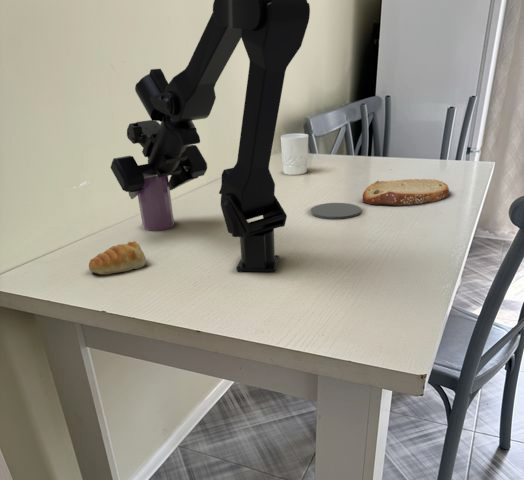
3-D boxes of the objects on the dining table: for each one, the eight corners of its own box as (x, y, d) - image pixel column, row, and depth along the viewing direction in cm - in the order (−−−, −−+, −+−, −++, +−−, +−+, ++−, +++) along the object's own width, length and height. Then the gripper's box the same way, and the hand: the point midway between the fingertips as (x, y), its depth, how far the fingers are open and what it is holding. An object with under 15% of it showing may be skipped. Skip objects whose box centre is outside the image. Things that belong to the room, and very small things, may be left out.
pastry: (99, 280, 84) (94, 258, 82) (84, 270, 89) (78, 249, 87) (150, 265, 89) (146, 244, 87) (132, 256, 94) (129, 236, 92)
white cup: (276, 172, 150) (275, 135, 145) (300, 168, 152) (300, 132, 147) (289, 176, 144) (288, 138, 138) (313, 173, 146) (313, 135, 141)
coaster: (361, 219, 107) (361, 216, 106) (308, 219, 108) (308, 216, 108) (360, 204, 116) (360, 202, 116) (312, 205, 118) (312, 202, 117)
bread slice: (451, 190, 123) (454, 174, 121) (438, 210, 109) (440, 193, 108) (378, 185, 130) (379, 170, 128) (357, 204, 117) (358, 187, 115)
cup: (168, 230, 106) (160, 176, 100) (138, 230, 107) (129, 176, 101) (178, 221, 111) (171, 168, 106) (149, 221, 112) (141, 169, 107)
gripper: (193, 100, 99) (170, 154, 112) (104, 111, 89) (91, 168, 102) (220, 147, 98) (194, 196, 111) (133, 163, 88) (116, 214, 101)
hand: (150, 192), depth 107 cm, fingers open, 9 cm apart
